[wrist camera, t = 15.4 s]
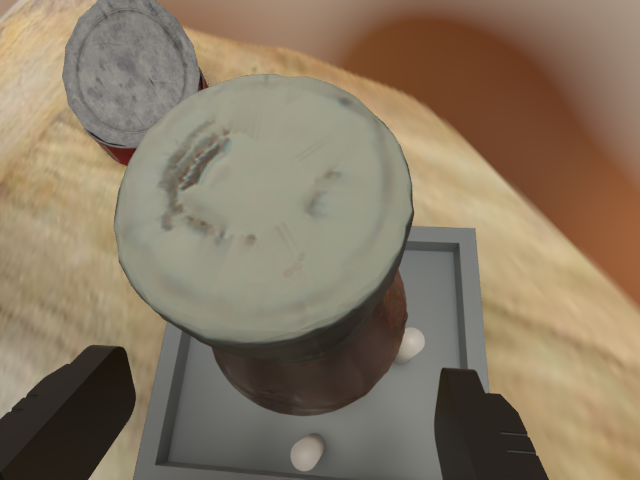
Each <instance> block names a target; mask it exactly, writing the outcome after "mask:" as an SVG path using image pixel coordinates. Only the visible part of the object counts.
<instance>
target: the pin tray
mask: <svg viewBox="0 0 640 480" xmlns="http://www.w3.org/2000/svg"><path fill="white" fill-rule="evenodd" d="M398 269H399V272H400V275H401V278H402V281H403V282H404V290H405V294H406V303H407V307H406V308H407V313H408V319H407V322H406V325H405V333H404V335H403V340H402V343H401V346H400V348H399V352H398V354H397V356H396V357H395V360H394V361H393V363H392V365H391V367H390V369H389V371H388V373H386V374H384V376H383V377H382V378H381V379H380V380H379V381H378V383H377V384H376V385H375V386H374V387H373V388H372V389H371V390H370V392H369V393H368V394H367V395H366V396H364V397H362V398H360V399H358V400H357V401H355V402H353V403H352V404H350V405H348V406H345V407H343V408H341V409H339V410H336V411H334V412H330V413H326V414H321V415H315V416H293V415H285V414H280V413H277V412H274V411H271V410H268V409H265V408H263V407H261V406H259V405H257V404H255V403H254V402H252V401H250V400H249V399H247V398H246V397H245V396H243V395H242V394H241V393H240V392H238V391H237V390H236V389H235V388H234V387H233V386H232V385H231V384H230V383H229V381H228V380H227V379H226V377H225V376H224V374H223V373H222V371H221V370H220V368H219V366H218V364H217V362H216V360H215V357H214V354H213V351H212V348H211V347H210V346H208V345H205V344H203V343H201V342H199V341H197V340H196V339H195V338H193V337H192V336H190V335H188V334H187V333H185V332H183V331H182V330H180V329H178V328H177V327H175V326H174V325H172V324H171V323H169V322H167V325H166V329H165V334H164V338H163V343H162V348H161V352H160V357H159V361H158V366H157V371H156V375H155V380H154V384H153V389H152V393H151V398H150V403H149V407H148V412H147V416H146V421H145V426H144V430H143V435H142V439H141V444H140V449H139V453H138V458H137V462H136V467H135V472H134V476H133V480H443V478H442V473H441V468H440V463H439V458H438V453H437V448H436V443H435V434H434V416H435V408H436V401H437V394H438V386H439V379H440V373H441V369H442V368H460V369H474V370H476V372H477V373H478V376H479V378H480V381H481V383H482V386H483V389H484V391H485V393H489V382H488V371H487V359H486V348H485V336H484V324H483V313H482V301H481V290H480V278H479V266H478V255H477V243H476V232H475V228H449V227H419V226H411V230H410V234H409V237H408V240H407V243H406V247H405V250H404V254H403V257H402V260H401V264H400V266H399V268H398Z"/></svg>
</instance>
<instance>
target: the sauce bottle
mask: <svg viewBox="0 0 640 480" xmlns="http://www.w3.org/2000/svg"><path fill="white" fill-rule="evenodd" d="M413 216H414V209H413V200H412V182H411V177H410V173H409V168H408V164H407V162H406V159H405V157H404V155H403V152H402V148H401V146H400V144H399V143H398V141H397V139H396V138H395V136H394V134H393V133H392V132H391V131H390V130H389V128H388V127H387V126H386V125H385V124H384V123H383V122H382V121H381V120H380V119H379V118H378V117H376V116H375V115H374V114H373V113H372V112H371V111H370V110H369V109H368V108H367V107H366V106H365V105H364V104H363V103H362V102H361V101H360V100H359V99H358V98H357V97H355V96H354V95H352V94H351V93H349V92H347V91H345V90H343V89H341V88H338V87H336V86H334V85H332V84H329V83H327V82H324V81H321V80H318V79H314V78H310V77H286V76H281V75H275V74H256V75H247V76H243V77H239V78H235V79H231V80H227V81H224V82H221V83H219V84H216V85H214V86H211V87H208V88H206V89H203V90H201V91H199V92H197V93H194V94H192V95H190V96H188V97H187V98H186V99H184V100H183V101H182V102H180V103H179V104H178V105H176V106H175V107H174V108H172V109H171V110H170V111H169V112H167V113H166V114H165V115H163V116H162V117H161V118H160V119H159V120H158V122H157V123H156V124H154V125H153V126H152V127H151V128H149V129H148V131H147V132H146V134H145V135H144V137H143V138H142V140H141V142H140V144H139V145H138V147H137V149H136V151H135V152H134V154H133V156H132V158H131V159H130V161H129V163H128V166H127V168H126V171H125V174H124V177H123V180H122V183H121V185H120V188H119V192H118V198H117V204H116V210H115V218H114V231H115V235H116V240H117V244H118V256H119V263H120V265H121V266H122V268H123V270H124V272H125V274H126V276H127V278H128V280H129V282H130V284H131V286H132V287H133V288H134V290H135V291H136V292H137V293H138V295H139V296H140V297H141V298H142V299H143V300H144V301H145V302H146V303H147V304H148V305H149V306H150V307H151V308H152V309H153V310H154V311H155V312H157V313H158V314H159V315H160V316H161V317H162V318H163V319H164V320H166V321H167V322H169V323H171V324H172V325H174V326H175V327H177V328H178V329H180V330H182V331H183V332H185V333H187V334H188V335H190V336H192V337H193V338H195V339H196V340H197V341H199V342H201V343H203V344H205V345H208V346H210V347H211V348H212V351H213V354H214V357H215V360H216V362H217V364H218V366H219V368H220V370H221V371H222V373H223V374H224V376H225V377H226V379H227V380H228V381H229V383H230V384H231V385H232V386H233V387H234V388H235V389H236V390H237V391H238V392H240V393H241V394H242V395H243V396H245V397H246V398H247V399H249V400H250V401H252V402H254V403H255V404H257V405H259V406H261V407H263V408H265V409H268V410H271V411H274V412H277V413H280V414H285V415H293V416H315V415H321V414H326V413H330V412H334V411H336V410H339V409H341V408H343V407H345V406H348V405H350V404H352V403H353V402H355V401H357V400H358V399H360V398H362V397H364V396H366V395H367V394H368V393H369V392H370V390H371V389H372V388H373V387H374V386H375V385H376V384H377V383H378V381H379V380H380V379H381V378H382V377H383V376H384V374H386V373H388V371H389V369H390V367H391V365H392V363H393V361H394V360H395V357H396V356H397V354H398V352H399V348H400V346H401V343H402V340H403V335H404V333H405V325H406V322H407V319H408V313H407V308H406V307H407V303H406V294H405V290H404V282H403V281H402V278H401V275H400V272H399V269H398V268H399V266H400V264H401V260H402V257H403V254H404V250H405V247H406V243H407V240H408V237H409V234H410V230H411V226H412V221H413Z"/></svg>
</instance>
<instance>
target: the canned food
mask: <svg viewBox="0 0 640 480" xmlns="http://www.w3.org/2000/svg"><path fill="white" fill-rule="evenodd" d="M62 78H63V82H64V86H65V89H66V94H67V100H68V105H69V106H70V108H71V109H72V110H73V112H74V113H75V115H76V116H77V118H78V119H79V121H80V122H81V124H82V125H83V127H84V129H85V130H86V131H87V133H88V134H89V135H90V136H91V137H92V138H94V140H95V141H96V142H97V143H98V144H99V145H100V146H101V147H102V148H103V149H104V150H105V151H106V152H107V153H108V154H109V155H110V156H111V157H112V158H113V159H115V160H116V161H117V162H119V163H121V164H123V165H126V166H128V163H129V161H130V159H131V158H132V156H133V154H134V152H135V151H136V149H137V147H138V145H139V144H140V142H141V140H142V138H143V137H144V135H145V134H146V132H147V131H148V129H149V128H151V127H152V126H153V125H154V124H156V123H157V122H158V120H159V119H160V118H161V117H162V116H163V115H165V114H166V113H167V112H169V111H170V110H171V109H172V108H174V107H175V106H176V105H178V104H179V103H180V102H182V101H183V100H184V99H186V98H187V97H188V96H190V95H192V94H194V93H197V92H199V91H201V90H203V89H206V88H208V85H207V83H206V81H205V79H204V77H203V74H202V71H201V69H200V68H199V66H198V63H197V59H196V54H195V50H194V46H193V44H192V42H191V41H190V39H189V38H188V36H187V35H186V33H185V31H184V30H183V28H182V26H181V25H180V23H179V22H178V20H177V19H176V17H174V16H173V15H172V14H171V13H169V12H168V11H167V10H166V9H164V8H163V7H162V6H161V5H160V4H159V3H158V2H157V1H156V0H98V1H97V2H96V3H95V4H94V5H93V6H92V7H91V8H90V9H89V10H88V11H87V12H85V13H84V14H83V15H82V16H81V17H80V18H79V19H78V22H77V24H76V26H75V28H74V31H73V33H72V35H71V37H70V39H69V41H68V43H67V44H66V47H65V62H64V68H63V74H62Z"/></svg>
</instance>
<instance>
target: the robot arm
mask: <svg viewBox="0 0 640 480" xmlns="http://www.w3.org/2000/svg"><path fill="white" fill-rule="evenodd" d="M135 401H136V393H135V388H134V384H133V379H132V375H131V370H130V366H129V362H128V357H127V353H126V351H125V349H124V348H123V347H119V346H103V345H91V346H89V347H87V348H86V349H85V350H84V351H83V352H82V353H81V354H80V355H79V356H78V357H77V358H76V359H75V360H74V361H73V362H72V363H71V364H66V365H64V366H63V367H61V368H59V369H58V370H56V371H54V372H53V373H51V374H50V375H48V376H46V377H45V378H43V379H42V380H41V381H40V382H39V383H38V384H37V385H36V386H35V387H34V388H33V389H32V390H31V391H30V392H29V393H28V394H27V396H26V398H22V399H21V400H20V401H19V402H18V403H17V404H16V405H15V406H14V407H13V408H12V411H11V412H8V413H6V414H5V415H4V416H3V417H2V418H1V419H0V480H88V479H89V477H90V476H91V475H92V473H93V472H94V470H95V469H96V467H97V466H98V464H99V463H100V461H101V460H102V458H103V457H104V455H105V454H106V452H107V451H108V450H109V448H110V447H111V445H112V444H113V442H114V441H115V439H116V438H117V436H118V435H119V433H120V432H121V430H122V429H123V427H124V426H125V425H126V423H127V422H128V420H129V419H130V417H131V415H132V412H133V410H134V406H135ZM434 434H435V443H436V448H437V453H438V458H439V463H440V468H441V473H442V478H443V480H549V479H548V477H547V475H546V472H545V470H544V468H543V466H542V464H541V462H540V459H539V457H538V456H536V451H535V449H534V446H533V444H532V442H531V440H530V438H529V437H528V436H527V431H526V429H525V427H524V425H523V423H522V420H521V418H520V416H519V414H518V412H517V411H516V410H515V409H514V408H513V407H512V406H511V405H510V404H509V403H508V402H507V401H506V400H505V399H504V397H503V396H502V395H501V394H492V393H485V391H484V389H483V386H482V383H481V381H480V378H479V376H478V373H477V372H476V370H474V369H460V368H442V369H441V373H440V379H439V386H438V394H437V401H436V408H435V416H434Z"/></svg>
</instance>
